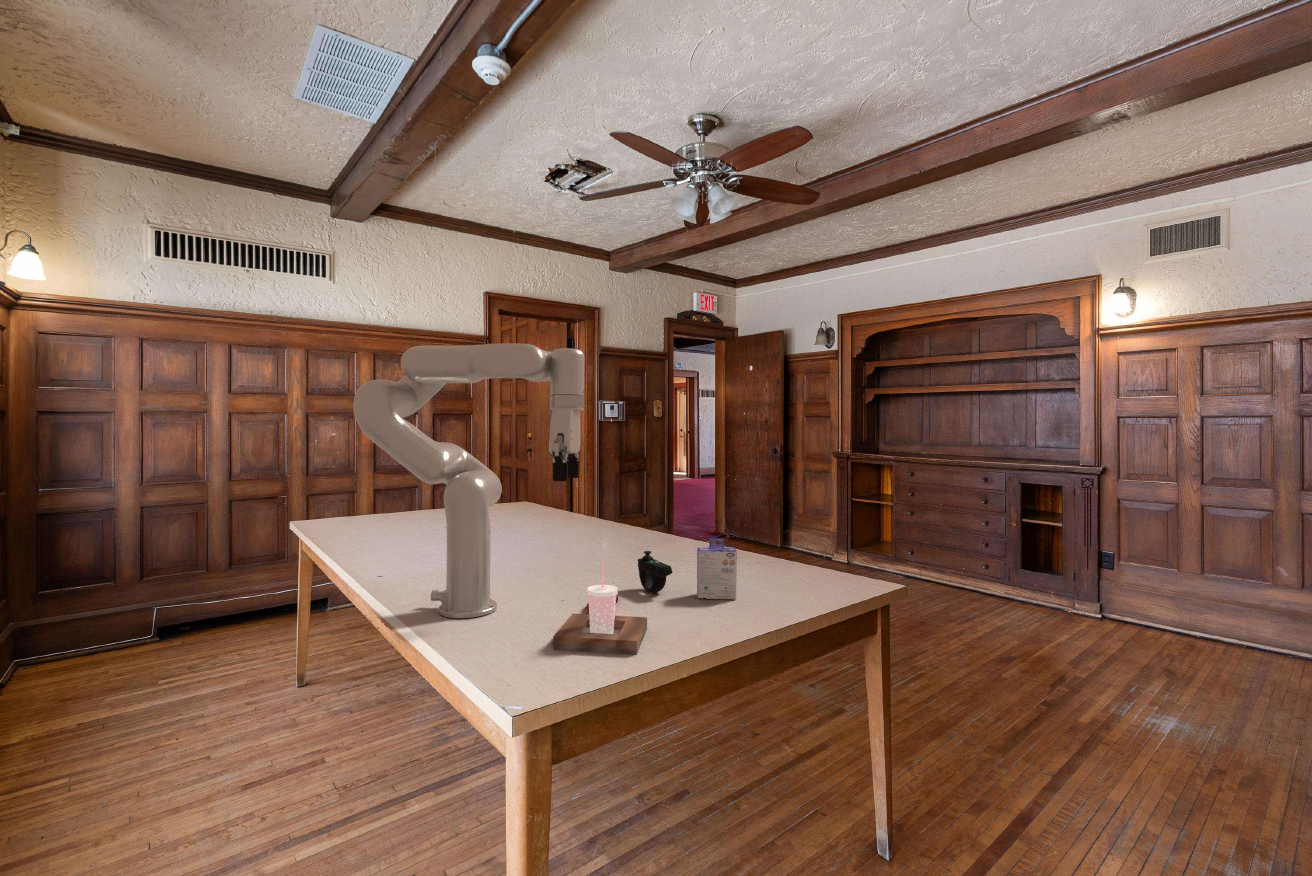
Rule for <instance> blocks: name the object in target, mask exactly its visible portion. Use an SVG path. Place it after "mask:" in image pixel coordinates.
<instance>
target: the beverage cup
mask: <svg viewBox="0 0 1312 876" xmlns="http://www.w3.org/2000/svg"><path fill="white" fill-rule="evenodd" d="M600 580H601V581H600V582H601V584H594V585H590V586H588V587H587V588H586V593H587V595H588V603H589V613H588V614H589V619H590V633H605V634H613V631H614V618H615V616H616V614H615V613H616V605H617V604H616V594H617V593H618V594H619V592H618V591H619V589H618V587H617V586H615V585H610V584H605V583H604V582H605V563H604V562H603V563H601V578H600Z"/></svg>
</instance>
